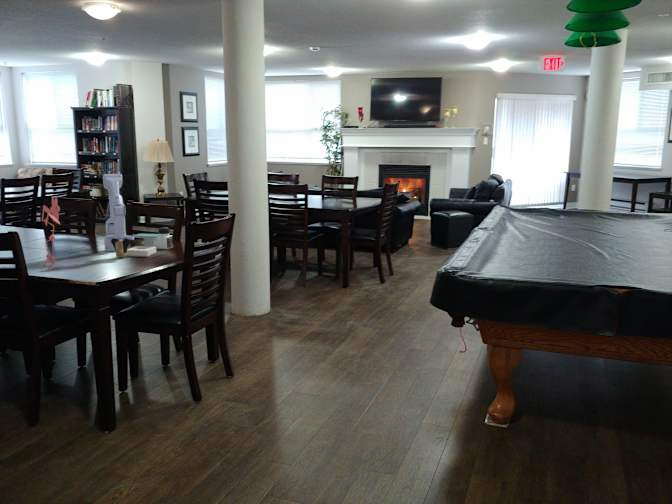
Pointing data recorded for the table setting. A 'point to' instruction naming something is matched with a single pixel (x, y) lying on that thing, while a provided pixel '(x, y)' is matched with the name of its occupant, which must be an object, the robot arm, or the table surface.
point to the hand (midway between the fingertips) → (121, 252)
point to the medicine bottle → (164, 239)
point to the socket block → (141, 251)
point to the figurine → (55, 217)
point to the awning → (148, 239)
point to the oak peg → (120, 249)
